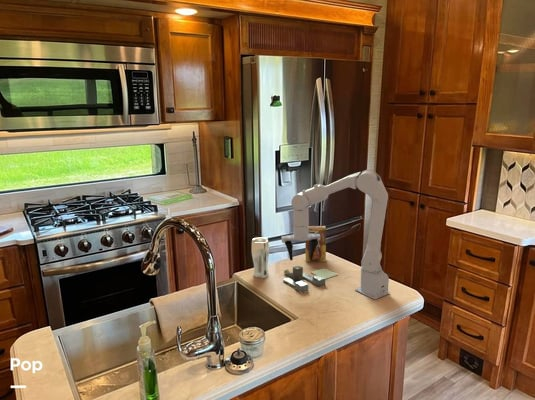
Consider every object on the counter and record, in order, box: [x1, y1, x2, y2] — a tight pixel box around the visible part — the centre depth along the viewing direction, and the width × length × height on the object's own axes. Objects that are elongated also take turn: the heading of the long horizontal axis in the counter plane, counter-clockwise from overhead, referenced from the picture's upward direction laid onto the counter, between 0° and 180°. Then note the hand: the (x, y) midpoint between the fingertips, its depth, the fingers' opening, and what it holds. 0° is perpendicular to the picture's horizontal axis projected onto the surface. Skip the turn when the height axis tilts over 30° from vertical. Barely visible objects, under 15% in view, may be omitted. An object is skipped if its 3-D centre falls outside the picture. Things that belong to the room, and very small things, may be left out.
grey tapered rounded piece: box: [283, 265, 304, 282], centre depth 159 cm, size 10×4×5 cm, turn 35°
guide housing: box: [282, 272, 326, 294], centre depth 154 cm, size 12×11×3 cm
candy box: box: [304, 225, 327, 263], centre depth 175 cm, size 9×4×15 cm, turn 85°
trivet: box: [310, 267, 339, 280], centre depth 162 cm, size 8×7×1 cm
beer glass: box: [251, 237, 270, 279], centre depth 161 cm, size 7×7×15 cm
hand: (300, 258), depth 153 cm, fingers open, 7 cm apart
